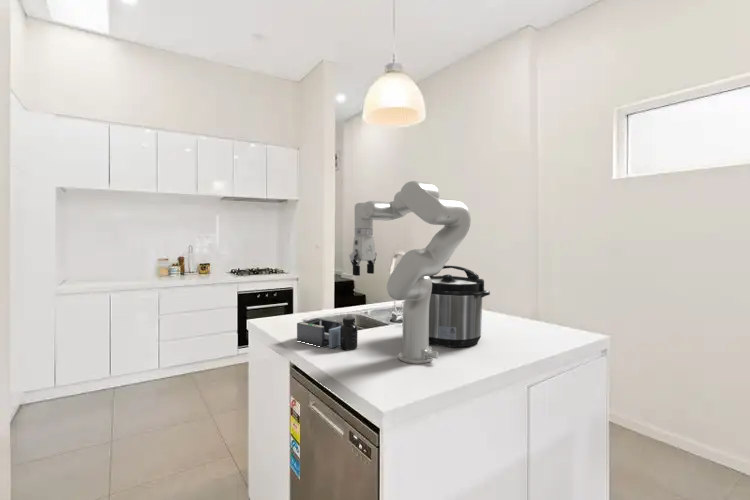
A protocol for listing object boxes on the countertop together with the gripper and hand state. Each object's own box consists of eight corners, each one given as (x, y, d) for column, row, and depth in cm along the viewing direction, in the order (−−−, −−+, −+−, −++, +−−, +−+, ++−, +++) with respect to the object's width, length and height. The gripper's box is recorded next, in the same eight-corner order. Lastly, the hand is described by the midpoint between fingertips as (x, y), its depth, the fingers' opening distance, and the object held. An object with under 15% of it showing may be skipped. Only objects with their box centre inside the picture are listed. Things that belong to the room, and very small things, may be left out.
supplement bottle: (336, 349, 152) (336, 318, 152) (346, 344, 158) (346, 315, 158) (351, 351, 149) (351, 320, 148) (360, 347, 155) (360, 317, 154)
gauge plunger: (348, 342, 160) (348, 321, 160) (328, 349, 150) (328, 326, 150) (324, 337, 167) (324, 317, 167) (304, 343, 158) (304, 322, 157)
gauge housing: (341, 341, 163) (341, 321, 163) (322, 347, 154) (321, 326, 153) (317, 336, 171) (317, 317, 171) (297, 342, 162) (297, 322, 161)
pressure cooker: (499, 341, 164) (500, 266, 162) (456, 354, 146) (457, 270, 144) (444, 328, 187) (445, 262, 186) (401, 337, 169) (401, 265, 168)
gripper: (358, 232, 151) (358, 276, 151) (382, 233, 165) (382, 273, 166) (343, 232, 155) (343, 275, 156) (368, 233, 169) (368, 272, 170)
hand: (363, 274), depth 161 cm, fingers open, 9 cm apart
